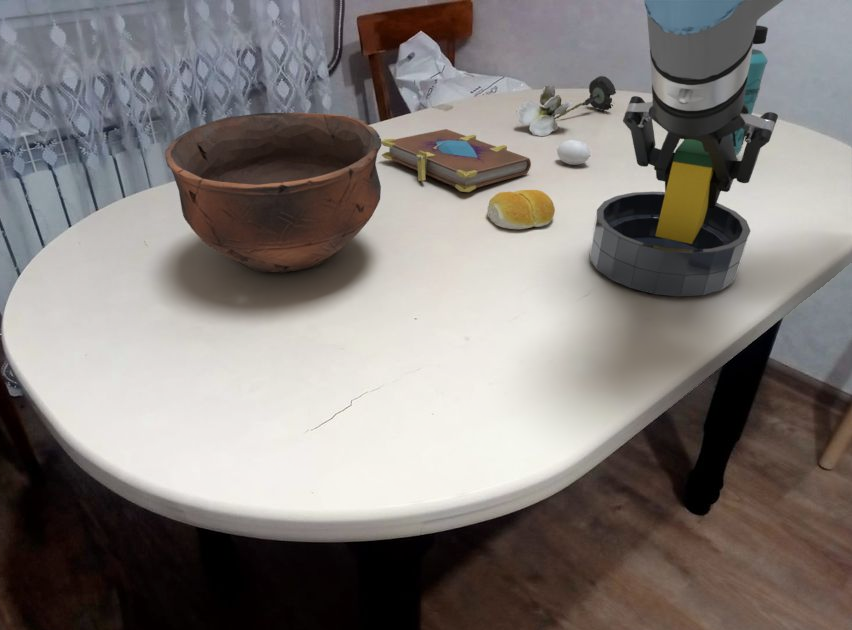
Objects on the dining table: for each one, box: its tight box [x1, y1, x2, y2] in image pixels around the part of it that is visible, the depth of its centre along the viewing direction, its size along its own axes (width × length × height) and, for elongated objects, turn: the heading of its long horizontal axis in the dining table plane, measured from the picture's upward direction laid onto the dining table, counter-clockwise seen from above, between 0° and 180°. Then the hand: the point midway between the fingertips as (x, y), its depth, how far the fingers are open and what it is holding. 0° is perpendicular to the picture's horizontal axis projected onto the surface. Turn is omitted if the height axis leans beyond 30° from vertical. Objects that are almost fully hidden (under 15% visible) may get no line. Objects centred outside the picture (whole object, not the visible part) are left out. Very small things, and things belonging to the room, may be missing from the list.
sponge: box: [655, 139, 714, 244], centre depth 73 cm, size 4×6×10 cm, turn 148°
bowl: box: [164, 112, 382, 274], centre depth 80 cm, size 25×25×15 cm
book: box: [381, 128, 532, 193], centre depth 108 cm, size 16×25×5 cm, turn 37°
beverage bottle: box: [730, 25, 769, 156], centre depth 102 cm, size 6×7×20 cm
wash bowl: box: [589, 191, 751, 297], centre depth 78 cm, size 17×17×6 cm
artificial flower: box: [516, 75, 617, 137], centre depth 124 cm, size 9×22×10 cm, turn 124°
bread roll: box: [486, 189, 556, 230], centre depth 90 cm, size 8×9×4 cm
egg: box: [556, 139, 591, 166], centre depth 107 cm, size 4×6×4 cm, turn 52°
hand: (693, 193), depth 77 cm, fingers closed on sponge, 4 cm apart
